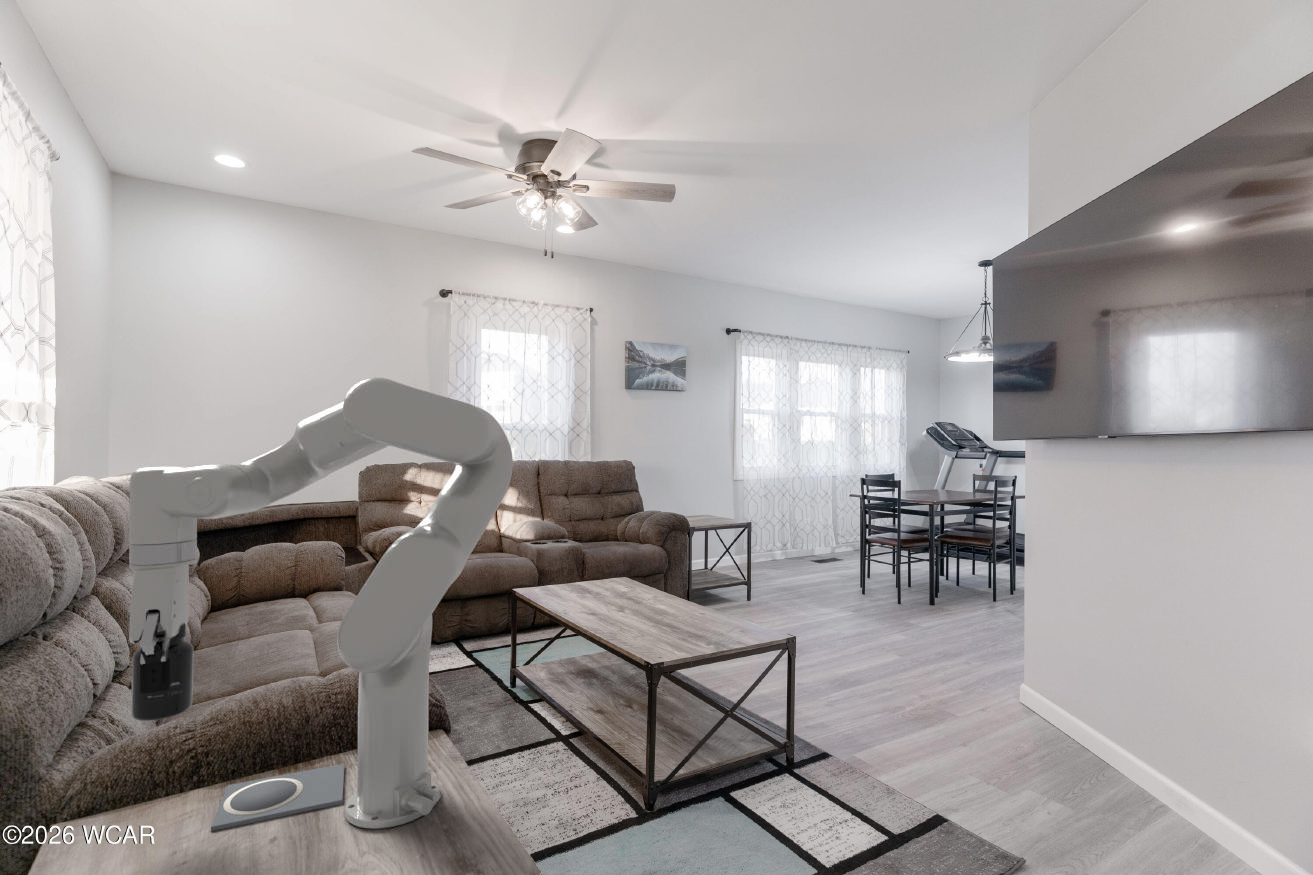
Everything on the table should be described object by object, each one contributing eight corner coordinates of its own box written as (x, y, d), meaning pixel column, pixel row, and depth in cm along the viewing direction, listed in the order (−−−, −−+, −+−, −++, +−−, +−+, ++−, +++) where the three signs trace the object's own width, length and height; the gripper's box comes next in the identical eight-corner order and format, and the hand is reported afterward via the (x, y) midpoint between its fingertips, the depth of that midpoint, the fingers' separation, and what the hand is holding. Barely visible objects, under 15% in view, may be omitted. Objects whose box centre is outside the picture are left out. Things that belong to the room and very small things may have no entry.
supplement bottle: (159, 723, 85) (159, 633, 86) (118, 720, 87) (118, 631, 87) (205, 704, 92) (205, 620, 92) (166, 701, 93) (166, 618, 94)
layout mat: (344, 767, 104) (344, 762, 104) (342, 803, 93) (342, 798, 93) (227, 788, 97) (227, 783, 97) (210, 831, 86) (210, 825, 86)
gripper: (149, 548, 96) (148, 667, 96) (107, 566, 80) (107, 709, 80) (209, 544, 99) (209, 660, 99) (180, 561, 84) (180, 699, 83)
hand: (163, 681), depth 89 cm, fingers closed on supplement bottle, 6 cm apart
